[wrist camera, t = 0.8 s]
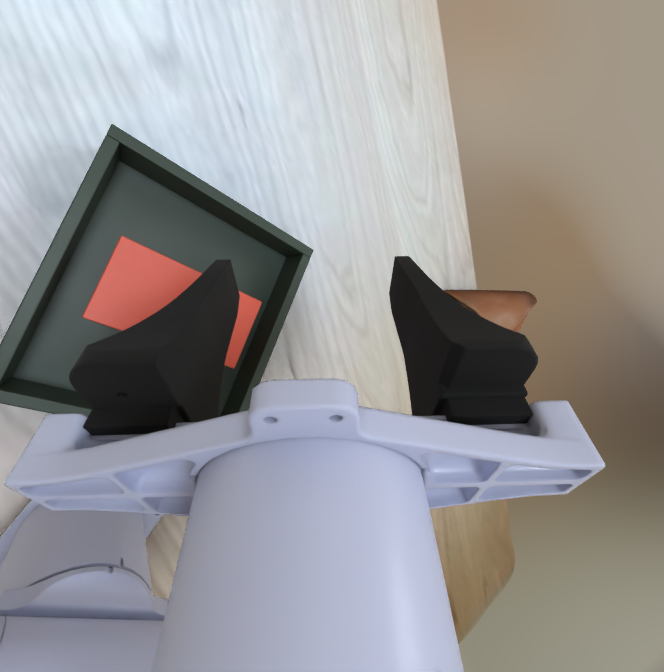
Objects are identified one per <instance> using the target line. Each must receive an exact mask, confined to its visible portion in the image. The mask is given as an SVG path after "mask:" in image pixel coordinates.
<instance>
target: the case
mask: <svg viewBox="0 0 664 672" xmlns="http://www.w3.org/2000/svg"><path fill="white" fill-rule="evenodd" d="M201 275H202V273H200V272H198V271H196V270H194V269H192V268H190V267H188V266H185V265H183V264H181V263H179V262H177V261H175V260H173V259H171V258H169V257H166V256H164V255H162V254H160V253H158V252H156V251H154V250H152V249H150V248H148V247H145V246H143V245H141V244H139V243H137V242H135V241H133V240H131V239H129V238H126V237H124V236H120V238H119V241H118V243H117V245H116V247H115V249H114V251H113V253H112V255H111V257H110V259H109V261H108V263H107V265H106V268H105V270H104V272H103V274H102V276H101V278H100V280H99V282H98V284H97V286H96V288H95V290H94V293H93V295H92V297H91V299H90V301H89V303H88V305H87V307H86V309H85V311H84V313H83V315H82V318H85V319H88V320H91V321H94V322H97V323H100V324H103V325H106V326H109V327H112V328H115V329H118V330H121V331H123V330H125V329H127V328H129V327H131V326H133V325H135V324H137V323H139V322H141V321H142V320H144V319H146V318H147V317H149V316H151V315H152V314H154V313H156V312H157V311H159V310H160V309H162V308H163V307H165V306H166V305H167V304H169V303H170V302H171V301H173V300H174V299H175V298H176V297H178V296H179V295H180V294H181V293H182V292H183V291H184V290H186V289H187V288H188V287H189V286H190V285H191V284H192V283H193V282H194V281H195V280H196V279H197V278H198V277H199V276H201ZM239 295H240V299H239V308H238V315H237V319H236V323H235V326H234V330H233V333H232V337H231V341H230V344H229V348H228V351H227V355H226V359H225V365H224V366H227V367H230V368H235V366H236V363H237V361H238V359H239V356H240V354H241V351H242V349H243V347H244V344H245V342H246V339H247V337H248V335H249V332H250V330H251V327H252V325H253V323H254V320H255V318H256V315H257V313H258V311H259V308H260V306H261V303H262V302H261V301H259V300H257V299H255V298H253V297H251V296H249V295H247V294H244V293H242V292H240V291H239Z"/></svg>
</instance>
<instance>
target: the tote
mask: <svg viewBox="0 0 664 672" xmlns="http://www.w3.org/2000/svg"><path fill="white" fill-rule="evenodd" d="M120 236H124V237H126V238H129V239H131V240H133V241H135V242H137V243H139V244H141V245H143V246H145V247H148V248H150V249H152V250H154V251H156V252H158V253H160V254H162V255H164V256H166V257H169V258H171V259H173V260H175V261H177V262H179V263H181V264H183V265H185V266H188V267H190V268H192V269H194V270H196V271H198V272H200V273H202V274H203V273H204V272H205V270H206V269H207V268H208V267H209V266H210V265H211V264H212V263H213V262H215V261H216V260H225V259H231V263H232V267H233V271H234V275H235V279H236V283H237V287H238V291H240V292H242V293H244V294H247V295H249V296H251V297H253V298H255V299H257V300H259V301H261V302H262V303H261V306H260V308H259V311H258V313H257V315H256V318H255V320H254V323H253V325H252V327H251V330H250V332H249V335H248V337H247V339H246V342H245V344H244V347H243V349H242V351H241V354H240V356H239V359H238V361H237V363H236V366H235V368H230V367H227V366H224V371H223V378H222V385H221V393H220V401H219V411H218V417H221V416H226V415H230V414H234V413H238V412H243V411H247V410H249V408H250V401H251V395H252V389H253V388H254V387H256V386H257V385H259V383H260V381H261V378H262V376H263V373H264V371H265V368H266V366H267V363H268V361H269V358H270V356H271V353H272V351H273V348H274V346H275V344H276V341H277V339H278V336H279V334H280V331H281V329H282V326H283V324H284V321H285V319H286V316H287V314H288V311H289V309H290V307H291V304H292V302H293V299H294V297H295V294H296V292H297V289H298V287H299V284H300V282H301V279H302V277H303V274H304V272H305V270H306V267H307V265H308V262H309V260H310V257H311V255H312V252H313V249H311V248H309V247H308V246H306V245H305V244H303V243H301V242H300V241H298V240H297V239H295V238H293V237H292V236H290V235H289V234H287V233H285V232H284V231H282V230H281V229H279V228H277V227H276V226H274V225H273V224H271V223H270V222H268V221H266V220H265V219H263V218H262V217H260V216H258V215H257V214H255V213H254V212H252V211H250V210H249V209H247V208H246V207H244V206H242V205H241V204H239V203H238V202H236V201H234V200H233V199H231V198H230V197H228V196H226V195H225V194H223V193H222V192H220V191H218V190H217V189H215V188H214V187H212V186H210V185H209V184H207V183H206V182H204V181H202V180H201V179H199V178H198V177H196V176H194V175H193V174H191V173H190V172H188V171H186V170H185V169H183V168H182V167H180V166H178V165H177V164H175V163H174V162H172V161H171V160H169V159H167V158H166V157H164V156H163V155H161V154H159V153H158V152H156V151H155V150H153V149H151V148H150V147H148V146H147V145H145V144H143V143H142V142H140V141H139V140H137V139H135V138H134V137H132V136H131V135H129V134H127V133H126V132H124V131H123V130H121V129H119V128H118V127H116V126H115V125H113V124H112V125H111V126H110V128H109V130H108V132H107V135H106V136H105V138H104V140H103V142H102V144H101V146H100V148H99V150H98V152H97V154H96V156H95V158H94V160H93V162H92V164H91V166H90V168H89V170H88V172H87V174H86V176H85V178H84V180H83V182H82V184H81V186H80V188H79V190H78V192H77V194H76V196H75V198H74V200H73V202H72V204H71V206H70V208H69V210H68V212H67V214H66V215H65V217H64V219H63V221H62V223H61V225H60V227H59V229H58V231H57V233H56V235H55V237H54V239H53V241H52V243H51V245H50V247H49V249H48V251H47V253H46V255H45V257H44V259H43V261H42V263H41V265H40V267H39V269H38V271H37V273H36V275H35V277H34V279H33V281H32V283H31V285H30V287H29V289H28V291H27V293H26V295H25V297H24V299H23V301H22V303H21V304H20V306H19V308H18V310H17V312H16V314H15V316H14V318H13V320H12V322H11V324H10V326H9V328H8V330H7V332H6V334H5V336H4V338H3V340H2V342H1V344H0V403H2V404H7V405H12V406H17V407H22V408H27V409H32V410H37V411H42V412H47V413H52V414H69V413H78V414H84V415H87V416H89V414H90V412H91V410H92V407H91V406H90V405H89V404H88V403H87V401H86V400H85V399H84V398H83V397H82V396H81V395H80V394H79V393H78V392H77V391H76V390H75V389H74V387H73V386H72V385H71V383H70V380H69V374H70V371H71V370H72V368H73V367H74V365H75V363H76V362H77V360H78V359H79V357H80V355H81V354H82V352H83V351H84V349H85V348H86V346H87V345H89V344H92V343H95V342H97V341H100V340H102V339H105V338H107V337H110V336H112V335H114V334H117V333H119V332H121V330H118V329H115V328H112V327H109V326H106V325H103V324H100V323H97V322H94V321H91V320H88V319H85V318H82V315H83V313H84V311H85V309H86V307H87V305H88V303H89V301H90V299H91V297H92V295H93V293H94V290H95V288H96V286H97V284H98V282H99V280H100V278H101V276H102V274H103V272H104V270H105V268H106V265H107V263H108V261H109V259H110V257H111V255H112V253H113V251H114V249H115V247H116V245H117V243H118V241H119V238H120Z"/></svg>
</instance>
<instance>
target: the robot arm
mask: <svg viewBox="0 0 664 672" xmlns="http://www.w3.org/2000/svg"><path fill="white" fill-rule="evenodd" d="M389 294H390V302H391V309H392V314H393V318H394V322H395V325H396V329H397V332H398V336H399V339H400V343H401V346H402V350H403V354H404V359H405V365H406V371H407V378H408V385H409V392H410V400H411V408H412V415H408V414H402V413H397V412H391V411H385V410H380V409H374V408H368V407H362V406H359V404H358V394H357V391H356V388H355V386H353V385H352V384H350V383H348V382H347V381H345V380H340V379H292V380H271V381H266V382H262V383H260V384H259V385H257V386H256V387H254V388H253V389H252V395H251V401H250V408H249V410H247V411H243V412H238V413H234V414H230V415H226V416H221V417H218V411H219V401H220V393H221V385H222V378H223V371H224V365H225V359H226V355H227V351H228V348H229V344H230V341H231V337H232V333H233V330H234V326H235V323H236V319H237V315H238V308H239V299H240V295H239V291H238V287H237V283H236V279H235V275H234V271H233V267H232V263H231V259H225V260H216V261H215V262H213V263H212V264H211V265H210V266H209V267H208V268H207V269H206V270H205V272H204V273H203V274H202V275H201V276H199V277H198V278H197V279H196V280H195V281H194V282H193V283H192V284H191V285H190V286H189V287H188V288H187V289H186V290H184V291H183V292H182V293H181V294H180V295H179V296H178V297H176V298H175V299H174V300H173V301H171V302H170V303H169V304H167V305H166V306H165V307H163V308H162V309H160V310H159V311H157V312H156V313H154V314H152V315H151V316H149V317H147V318H146V319H144V320H142V321H141V322H139V323H137V324H135V325H133V326H131V327H129V328H127V329H125V330H123V331H121V332H119V333H117V334H114V335H112V336H110V337H107V338H105V339H102V340H100V341H97V342H95V343H92V344H89V345H87V346H86V348H85V349H84V351H83V352H82V354H81V355H80V357H79V359H78V360H77V362H76V363H75V365H74V367H73V368H72V370H71V371H70V374H69V380H70V383H71V385H72V386H73V387H74V389H75V390H76V391H77V392H78V393H79V394H80V395H81V396H82V397H83V398H84V399H85V400H86V401H87V403H88V404H89V405H90V406H91V407H92V410H91V412H90V414H89V416H87V415H84V414H78V413H69V414H48V415H46V417H45V418H44V420H43V421H42V423H41V425H40V426H39V428H38V429H37V431H36V433H35V434H34V436H33V437H32V439H31V441H30V442H29V444H28V445H27V447H26V449H25V450H24V452H23V453H22V455H21V457H20V458H19V460H18V461H17V463H16V465H15V466H14V468H13V469H12V471H11V473H10V474H9V476H8V477H7V479H6V481H5V482H4V484H5V486H7V487H8V488H10V489H12V490H14V491H16V492H18V493H20V494H22V495H24V496H25V497H27V498H29V499H31V500H30V502H29V503H28V504H27V505H26V506H25V508H24V509H23V510H22V511H21V512H20V514H19V515H18V516H17V517H16V518H15V520H14V521H13V522H12V523H11V524H10V526H9V527H8V528H7V529H6V530H5V532H4V533H3V534H2V535H1V537H0V672H464V670H463V666H462V661H461V656H460V651H459V647H458V642H457V637H456V632H455V628H454V623H453V618H452V614H451V609H450V604H449V599H448V595H447V590H446V585H445V581H444V576H443V571H442V566H441V562H440V557H439V552H438V548H437V543H436V538H435V533H434V529H433V524H432V519H431V515H430V510H429V509H435V508H442V507H449V506H457V505H464V504H471V503H478V502H485V501H493V500H500V499H508V498H516V497H527V496H538V495H557V494H567V493H569V492H570V491H571V490H573V489H574V488H576V487H577V486H579V485H580V484H581V483H583V482H584V481H586V480H587V479H589V478H590V477H591V476H593V475H594V474H595V473H597V472H599V471H600V470H601V469H603V468H604V467H605V463H604V462H603V460H602V458H601V456H600V455H599V453H598V451H597V450H596V448H595V446H594V445H593V443H592V441H591V440H590V438H589V436H588V435H587V433H586V431H585V430H584V428H583V426H582V425H581V423H580V421H579V419H578V418H577V416H576V414H575V413H574V411H573V409H572V408H571V406H570V404H569V403H568V401H564V400H561V401H537V402H533V403H531V404H529V405H528V403H527V401H526V399H525V397H526V396H527V391H526V388H525V387H524V384H525V382H526V381H527V380H528V378H529V377H530V375H531V374H532V372H533V371H534V370H535V368H536V366H537V363H538V357H537V355H536V353H535V351H534V349H533V347H532V346H531V344H530V342H529V341H528V340H527V338H526V336H525V335H523V334H520V333H517V332H515V331H512V330H510V329H507V328H504V327H502V326H500V325H498V324H495V323H493V322H491V321H489V320H487V319H485V318H483V317H481V316H479V315H478V314H476V313H474V312H472V311H471V310H469V309H467V308H466V307H464V306H463V305H461V304H460V303H459V302H457V301H456V300H454V299H453V298H452V297H450V296H449V295H448V294H447V293H445V292H444V291H443V290H442V289H441V288H440V287H438V286H437V285H436V284H435V283H434V282H433V281H432V280H431V279H430V278H429V277H428V276H427V275H426V274H425V273H424V272H423V271H422V270H421V269H420V268H419V267H418V266H417V264H416V263H415V262H414V261H413V260H412V259H411V258H410V257H409V256H397V257H395V260H394V266H393V273H392V279H391V286H390V292H389ZM163 514H164V515H178V516H189V517H188V521H187V525H186V529H185V534H184V538H183V542H182V546H181V550H180V554H179V559H178V563H177V567H176V571H175V575H174V579H173V584H172V588H171V592H170V596H169V600H168V602H167V600H166V599H162V598H158V597H156V596H155V595H153V594H152V587H151V579H150V571H149V563H148V555H147V546H146V538H147V537H148V535H149V534H150V533H151V531H152V530H153V528H154V527H155V526H156V524H157V523H158V521H159V520H160V519H161V517H162V516H163Z"/></svg>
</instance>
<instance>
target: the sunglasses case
mask: <svg viewBox="0 0 664 672" xmlns="http://www.w3.org/2000/svg"><path fill="white" fill-rule="evenodd" d="M443 291H444V292H445V293H447V294H448V295H449V296H450V297H452V298H453V299H454V300H456V301H457V302H459V303H460V304H461V305H463V306H464V307H466V308H467V309H469V310H471V311H472V312H474V313H476V314H478V315H479V316H481V317H483V318H485V319H487V320H489V321H491V322H493V323H495V324H498V325H500V326H502V327H504V328H507V329H510V330H512V331H515V332H517V333H519V331H520V329H521V327H522V325H523V323H524V321H525V319H526V317H527V315H528V313H529V311H530V310H531V309H532V308H533V307H534V305H535V304H536V302H537V300H536V298H535V297H534V296H533V295H532V294H531V293H529V292H525V291H494V290H489V291H488V290H443Z"/></svg>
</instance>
